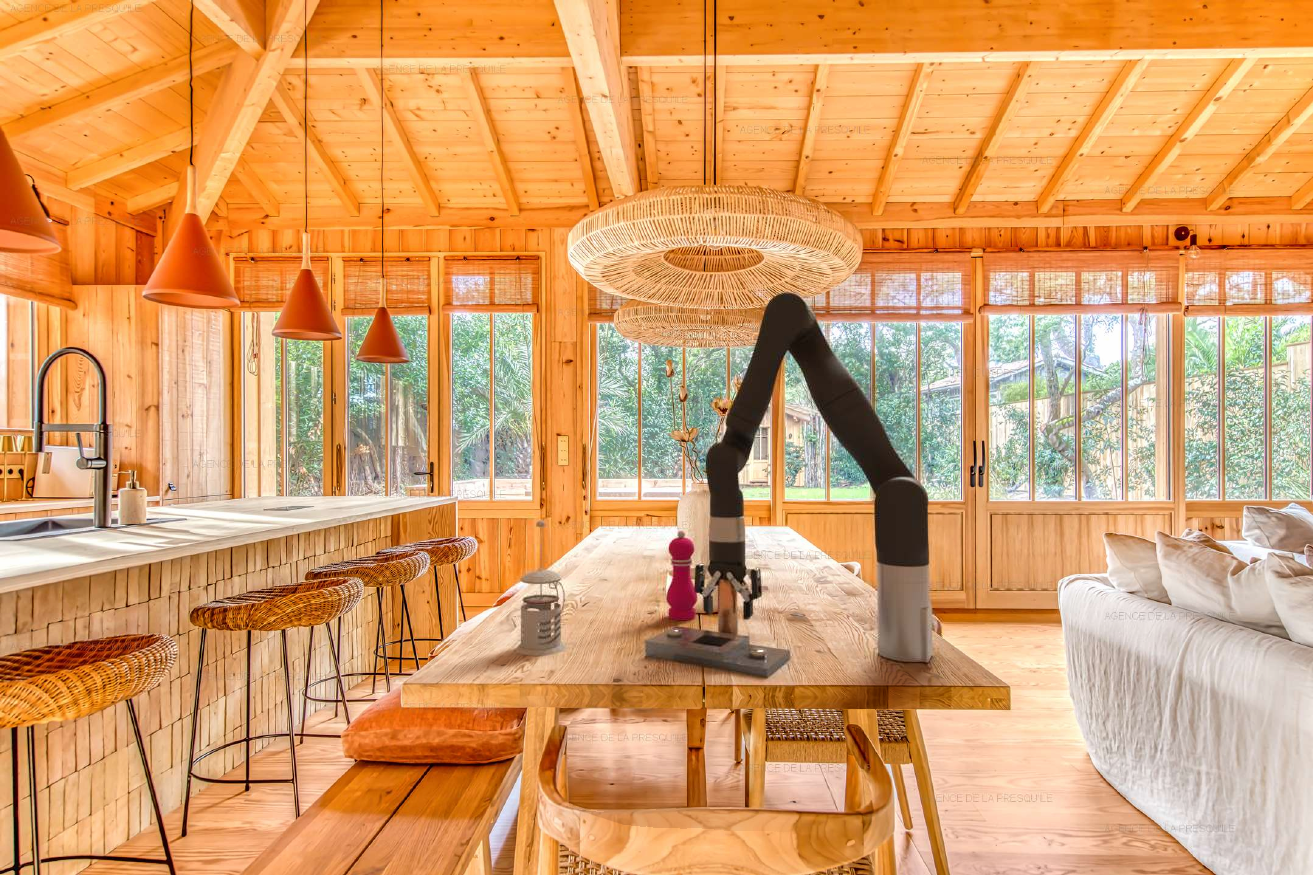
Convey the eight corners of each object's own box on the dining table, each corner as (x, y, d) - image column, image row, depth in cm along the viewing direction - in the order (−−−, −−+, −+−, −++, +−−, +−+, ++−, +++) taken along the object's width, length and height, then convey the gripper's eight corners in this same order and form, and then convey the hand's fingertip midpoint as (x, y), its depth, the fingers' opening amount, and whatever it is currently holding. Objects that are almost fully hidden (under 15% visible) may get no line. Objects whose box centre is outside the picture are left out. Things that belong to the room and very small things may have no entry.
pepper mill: (700, 614, 156) (699, 529, 157) (693, 621, 149) (693, 532, 150) (670, 612, 158) (670, 528, 159) (662, 619, 151) (662, 532, 152)
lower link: (790, 658, 122) (790, 644, 122) (767, 677, 112) (767, 662, 112) (702, 644, 131) (702, 632, 131) (673, 661, 121) (673, 647, 121)
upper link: (749, 652, 126) (749, 631, 126) (723, 670, 116) (723, 647, 116) (675, 640, 134) (675, 620, 134) (645, 656, 124) (645, 635, 124)
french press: (504, 651, 128) (504, 521, 128) (542, 636, 138) (541, 516, 139) (545, 658, 123) (545, 523, 124) (581, 642, 133) (580, 518, 134)
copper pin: (740, 635, 138) (740, 577, 138) (733, 640, 134) (732, 580, 135) (723, 632, 140) (722, 575, 140) (715, 637, 136) (714, 579, 137)
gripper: (765, 538, 137) (766, 616, 137) (704, 534, 144) (704, 609, 144) (752, 542, 131) (753, 624, 130) (688, 538, 138) (688, 616, 137)
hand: (727, 616), depth 137 cm, fingers open, 8 cm apart
